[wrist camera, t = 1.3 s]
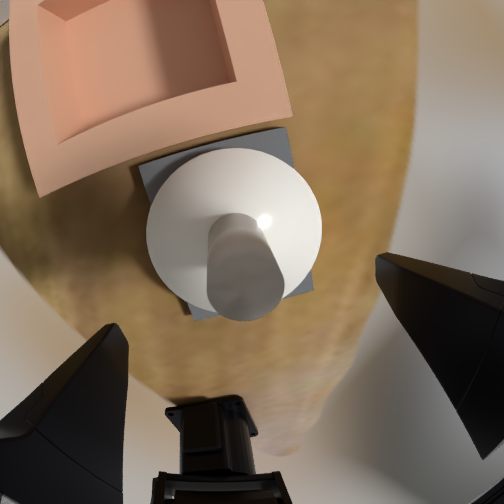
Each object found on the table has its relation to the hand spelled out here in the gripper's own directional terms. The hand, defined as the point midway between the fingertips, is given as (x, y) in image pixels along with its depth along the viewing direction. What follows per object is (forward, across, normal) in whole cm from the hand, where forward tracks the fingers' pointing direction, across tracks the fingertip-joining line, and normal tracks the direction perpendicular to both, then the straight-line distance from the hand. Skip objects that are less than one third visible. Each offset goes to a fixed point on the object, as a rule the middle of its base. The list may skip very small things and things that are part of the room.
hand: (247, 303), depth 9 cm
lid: (+6, 0, 0) cm, 6 cm away
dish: (+6, +2, -10) cm, 12 cm away
